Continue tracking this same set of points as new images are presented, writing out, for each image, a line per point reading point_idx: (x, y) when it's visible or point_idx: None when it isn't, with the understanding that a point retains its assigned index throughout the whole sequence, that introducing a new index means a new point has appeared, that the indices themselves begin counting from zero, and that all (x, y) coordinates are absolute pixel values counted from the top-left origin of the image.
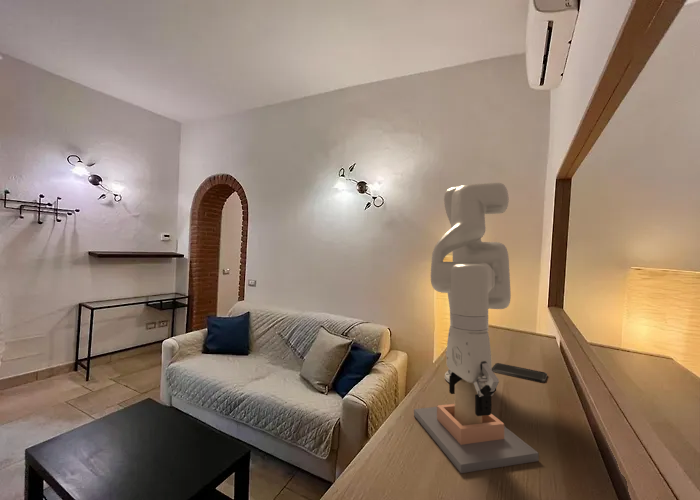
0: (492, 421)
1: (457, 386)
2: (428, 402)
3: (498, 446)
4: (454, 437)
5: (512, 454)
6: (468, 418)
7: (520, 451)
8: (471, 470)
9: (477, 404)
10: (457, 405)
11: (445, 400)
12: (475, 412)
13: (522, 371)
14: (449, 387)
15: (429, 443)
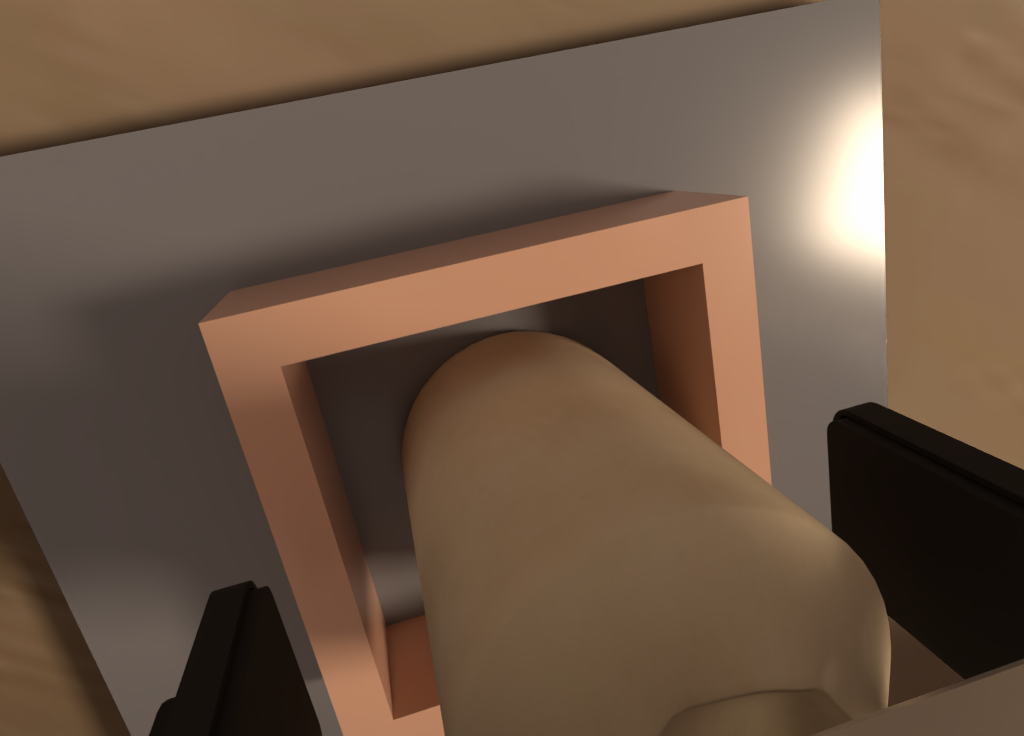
0: None
1: (684, 549)
2: (1016, 224)
3: None
4: (345, 265)
5: (127, 669)
6: (421, 473)
7: None
8: None
9: (184, 706)
10: (543, 412)
11: (1013, 384)
12: (236, 593)
13: None
14: (917, 424)
15: (366, 21)
